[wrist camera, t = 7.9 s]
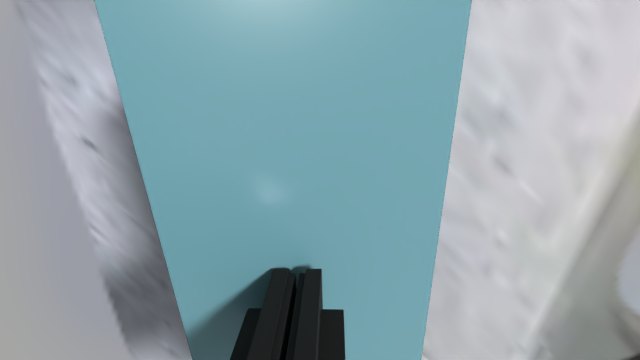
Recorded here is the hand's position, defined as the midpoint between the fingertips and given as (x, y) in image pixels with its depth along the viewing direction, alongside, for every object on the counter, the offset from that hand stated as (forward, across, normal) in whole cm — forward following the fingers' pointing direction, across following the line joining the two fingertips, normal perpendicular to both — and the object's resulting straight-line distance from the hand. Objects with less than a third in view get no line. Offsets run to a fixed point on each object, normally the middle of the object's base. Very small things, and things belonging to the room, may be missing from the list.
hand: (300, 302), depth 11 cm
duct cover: (+1, -1, 0) cm, 2 cm away
